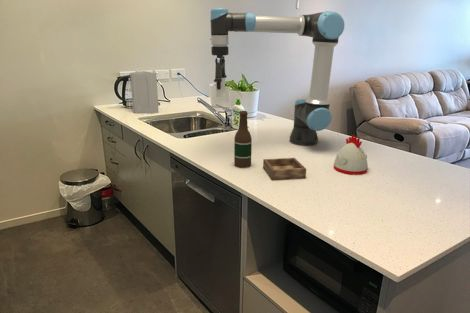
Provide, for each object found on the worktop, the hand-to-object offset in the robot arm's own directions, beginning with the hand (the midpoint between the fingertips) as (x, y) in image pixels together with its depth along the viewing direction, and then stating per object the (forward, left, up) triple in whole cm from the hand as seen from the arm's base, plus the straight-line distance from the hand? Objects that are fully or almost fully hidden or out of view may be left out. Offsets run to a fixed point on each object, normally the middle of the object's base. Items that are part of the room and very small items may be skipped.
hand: (220, 94), depth 166 cm
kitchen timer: (-52, +30, -29) cm, 67 cm away
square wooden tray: (-22, +30, -28) cm, 47 cm away
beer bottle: (-7, +18, -29) cm, 35 cm away
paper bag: (+42, -104, -29) cm, 116 cm away
